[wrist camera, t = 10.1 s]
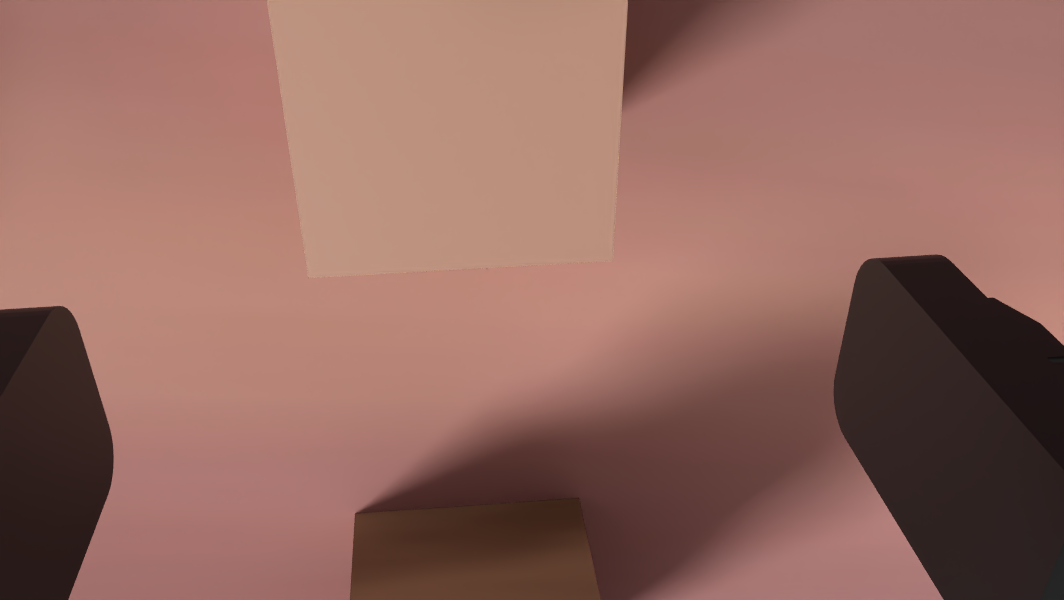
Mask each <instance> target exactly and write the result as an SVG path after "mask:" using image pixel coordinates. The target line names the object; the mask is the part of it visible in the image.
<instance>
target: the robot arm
mask: <svg viewBox="0 0 1064 600" xmlns="http://www.w3.org/2000/svg"><path fill="white" fill-rule="evenodd" d="M834 404H835V410H836V415H837V419H838V423H839V426H840V428H841V431H842V433H843V435H844V437H845V439H846V440H847V442H848V444H849V445H850V447H851V449H852V450H853V452H854V454H855V455H856V457H857V458H858V460H859V462H860V463H861V465H862V467H863V468H864V470H865V472H866V473H867V475H868V476H869V478H870V480H871V481H872V483H873V485H874V486H875V488H876V490H877V491H878V493H879V494H880V496H881V498H882V499H883V501H884V503H885V504H886V506H887V508H888V509H889V511H890V512H891V514H892V516H893V517H894V519H895V521H896V522H897V524H898V526H899V527H900V529H901V531H902V532H903V534H904V535H905V537H906V539H907V540H908V542H909V544H910V545H911V547H912V549H913V550H914V552H915V553H916V555H917V557H918V558H919V560H920V562H921V563H922V565H923V567H924V568H925V570H926V571H927V573H928V575H929V576H930V578H931V580H932V581H933V583H934V585H935V586H936V588H937V589H938V591H939V593H940V594H941V596H942V598H943V599H944V600H1064V345H1062V344H1061V343H1060V342H1059V341H1058V340H1057V339H1056V338H1055V337H1054V336H1053V335H1052V334H1051V333H1050V332H1049V331H1048V330H1047V329H1046V328H1045V327H1044V326H1043V325H1042V324H1040V323H1039V322H1037V321H1035V320H1033V319H1031V318H1030V317H1028V316H1026V315H1024V314H1022V313H1020V312H1019V311H1017V310H1015V309H1013V308H1011V307H1009V306H1008V305H1006V304H1004V303H1002V302H1000V301H999V300H997V299H995V298H987V297H986V296H985V295H984V294H983V293H982V292H981V291H980V290H979V289H978V288H977V287H976V286H975V285H974V284H973V283H972V282H971V281H970V280H969V279H968V278H967V277H966V276H965V275H964V274H963V273H962V272H961V271H960V270H959V269H958V268H957V267H956V266H955V265H954V264H953V263H952V262H951V261H950V260H949V259H947V258H946V257H944V256H942V255H923V256H907V257H890V258H874V259H868V260H867V261H865V262H864V263H863V264H862V265H861V267H860V269H859V271H858V273H857V276H856V279H855V283H854V288H853V293H852V298H851V302H850V307H849V312H848V317H847V321H846V326H845V331H844V336H843V341H842V345H841V350H840V355H839V360H838V364H837V369H836V374H835V380H834ZM112 475H113V443H112V436H111V431H110V427H109V424H108V421H107V418H106V414H105V411H104V408H103V405H102V401H101V398H100V395H99V392H98V388H97V385H96V382H95V379H94V375H93V372H92V369H91V366H90V362H89V359H88V356H87V353H86V350H85V346H84V343H83V340H82V337H81V333H80V330H79V327H78V325H77V322H76V320H75V318H74V316H73V315H72V313H71V312H70V311H69V310H68V309H67V308H65V307H63V306H53V307H37V308H20V309H4V310H0V600H68V599H69V596H70V594H71V591H72V588H73V586H74V583H75V580H76V578H77V575H78V573H79V570H80V567H81V565H82V562H83V559H84V557H85V554H86V551H87V549H88V546H89V543H90V541H91V538H92V536H93V533H94V530H95V528H96V525H97V522H98V520H99V517H100V514H101V512H102V509H103V507H104V504H105V501H106V499H107V496H108V493H109V490H110V486H111V482H112Z"/></svg>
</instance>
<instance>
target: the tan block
mask: <svg viewBox="0 0 1064 600" xmlns="http://www.w3.org/2000/svg"><path fill="white" fill-rule="evenodd" d="M267 4H268V11H269V18H270V24H271V31H272V38H273V45H274V51H275V58H276V65H277V71H278V78H279V85H280V92H281V98H282V105H283V112H284V118H285V125H286V132H287V138H288V145H289V152H290V159H291V165H292V172H293V179H294V185H295V192H296V199H297V206H298V212H299V219H300V226H301V232H302V239H303V246H304V252H305V259H306V266H307V273H308V278H319V277H337V276H355V275H373V274H391V273H409V272H427V271H445V270H463V269H481V268H499V267H517V266H535V265H553V264H571V263H589V262H607V261H613V249H614V232H615V214H616V197H617V180H618V163H619V146H620V129H621V112H622V95H623V77H624V60H625V43H626V26H627V9H628V0H267Z"/></svg>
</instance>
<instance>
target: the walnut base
mask: <svg viewBox="0 0 1064 600" xmlns="http://www.w3.org/2000/svg"><path fill="white" fill-rule="evenodd" d="M350 600H601V598H600V593H599V589H598V584H597V580H596V575H595V570H594V566H593V561H592V556H591V552H590V547H589V543H588V538H587V533H586V529H585V524H584V519H583V515H582V510H581V506H580V501H579V498H571V499H557V500H543V501H528V502H514V503H500V504H485V505H471V506H457V507H442V508H428V509H414V510H399V511H385V512H371V513H356V514H355V523H354V540H353V557H352V575H351V592H350Z"/></svg>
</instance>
